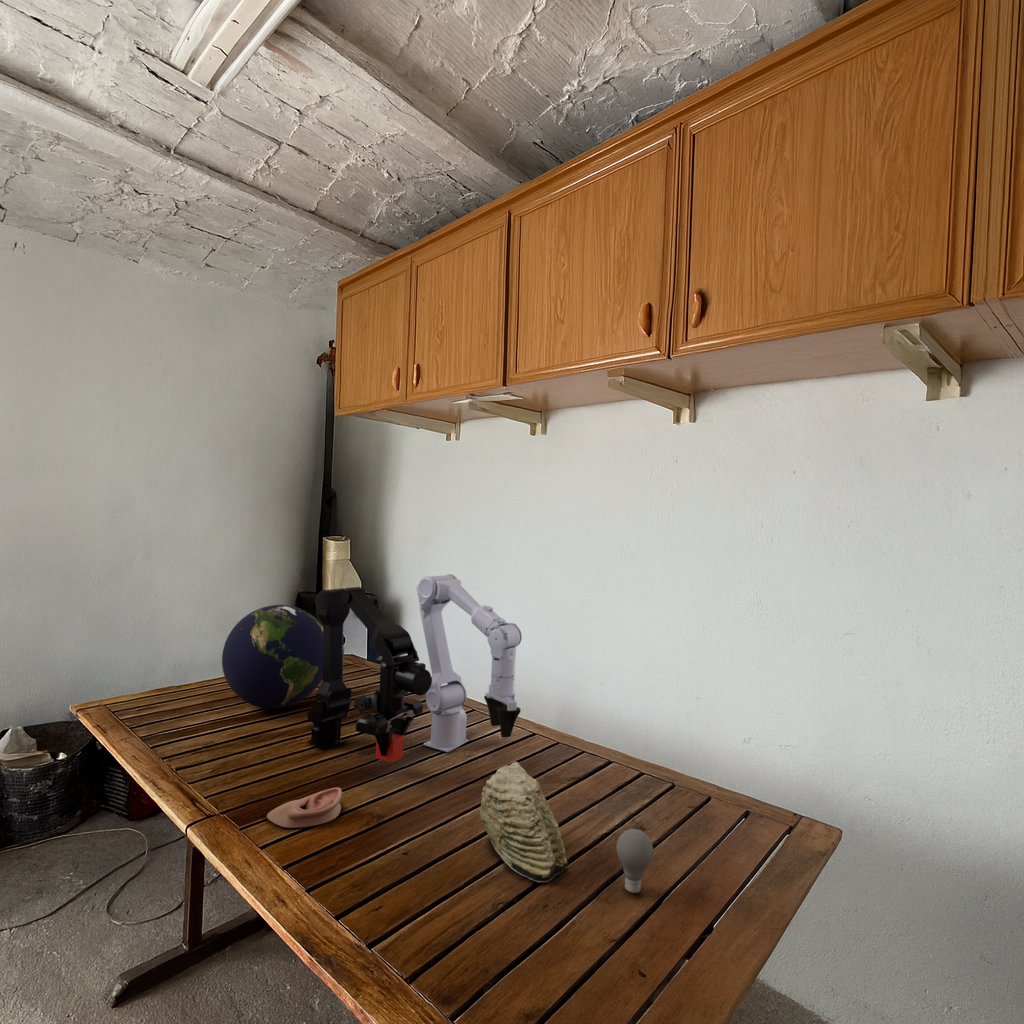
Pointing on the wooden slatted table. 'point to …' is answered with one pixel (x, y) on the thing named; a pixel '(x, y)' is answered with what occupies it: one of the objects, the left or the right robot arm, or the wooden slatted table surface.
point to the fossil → (522, 824)
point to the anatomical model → (308, 810)
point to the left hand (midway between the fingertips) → (389, 752)
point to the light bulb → (634, 857)
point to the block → (392, 749)
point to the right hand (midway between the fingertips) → (500, 730)
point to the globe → (274, 656)
